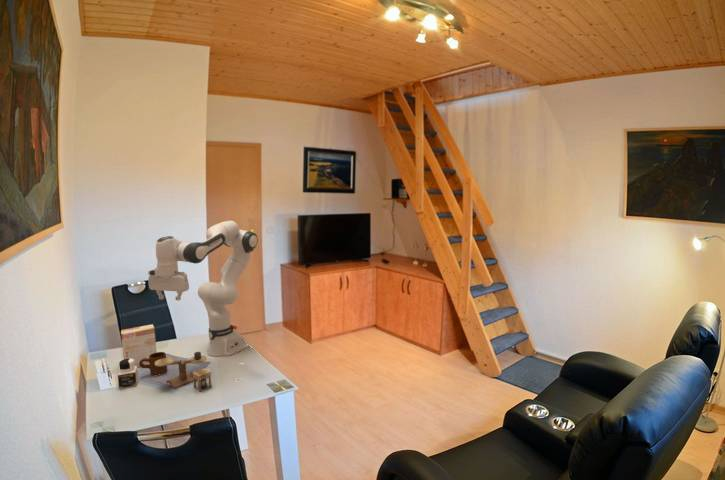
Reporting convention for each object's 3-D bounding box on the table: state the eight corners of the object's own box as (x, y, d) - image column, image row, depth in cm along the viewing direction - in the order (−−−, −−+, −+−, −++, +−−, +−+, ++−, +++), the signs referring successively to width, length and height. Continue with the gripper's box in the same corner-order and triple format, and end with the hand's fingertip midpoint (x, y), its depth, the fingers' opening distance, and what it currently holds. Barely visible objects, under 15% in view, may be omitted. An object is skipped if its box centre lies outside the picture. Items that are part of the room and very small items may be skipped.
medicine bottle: (118, 389, 182) (116, 364, 181) (121, 382, 189) (118, 358, 187) (136, 386, 185) (134, 361, 184) (138, 379, 192) (136, 355, 190)
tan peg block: (205, 383, 187) (204, 368, 186) (211, 387, 183) (210, 371, 182) (193, 388, 183) (192, 372, 182) (199, 392, 179) (198, 376, 178)
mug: (141, 380, 191) (139, 361, 189) (139, 374, 197) (137, 356, 196) (168, 373, 198) (167, 355, 197) (165, 368, 204) (164, 350, 203)
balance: (202, 370, 201) (200, 345, 199) (211, 375, 195) (209, 350, 193) (153, 387, 183) (151, 361, 182) (161, 394, 178) (159, 367, 176)
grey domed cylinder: (204, 385, 185) (203, 375, 185) (208, 387, 183) (207, 378, 182) (197, 388, 183) (196, 378, 182) (200, 390, 180) (200, 381, 180)
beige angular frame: (270, 377, 193) (269, 375, 193) (238, 390, 180) (238, 388, 180) (241, 362, 209) (241, 360, 209) (210, 374, 197) (210, 372, 197)
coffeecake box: (156, 358, 216) (153, 323, 213) (157, 363, 210) (154, 327, 207) (124, 365, 207) (120, 329, 205) (124, 370, 201) (121, 333, 199)
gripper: (191, 270, 189) (192, 299, 191) (155, 269, 194) (157, 296, 196) (181, 273, 183) (183, 302, 185) (145, 271, 188) (147, 300, 190)
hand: (169, 299), depth 190 cm, fingers open, 8 cm apart
